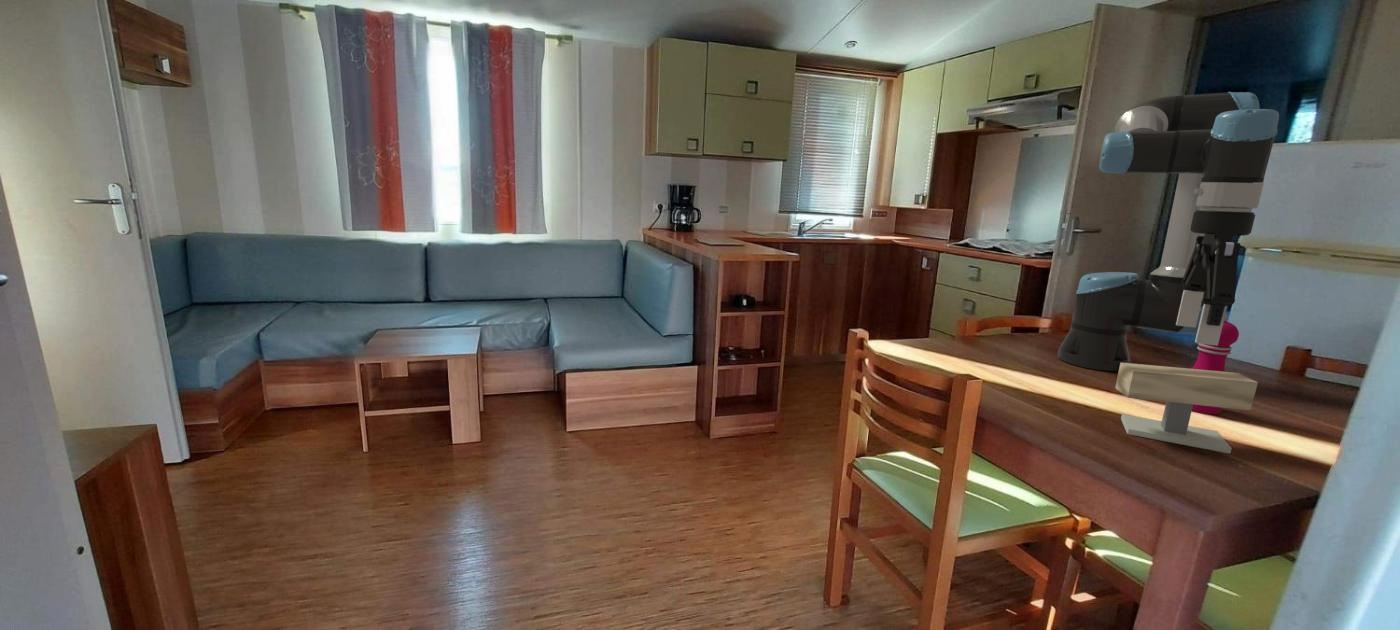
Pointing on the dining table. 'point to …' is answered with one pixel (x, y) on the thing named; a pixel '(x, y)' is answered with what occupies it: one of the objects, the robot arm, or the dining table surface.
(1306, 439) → the dining table surface
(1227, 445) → the stand
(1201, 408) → the pepper mill
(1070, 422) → the dining table surface
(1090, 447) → the dining table surface
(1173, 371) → the beech bar
